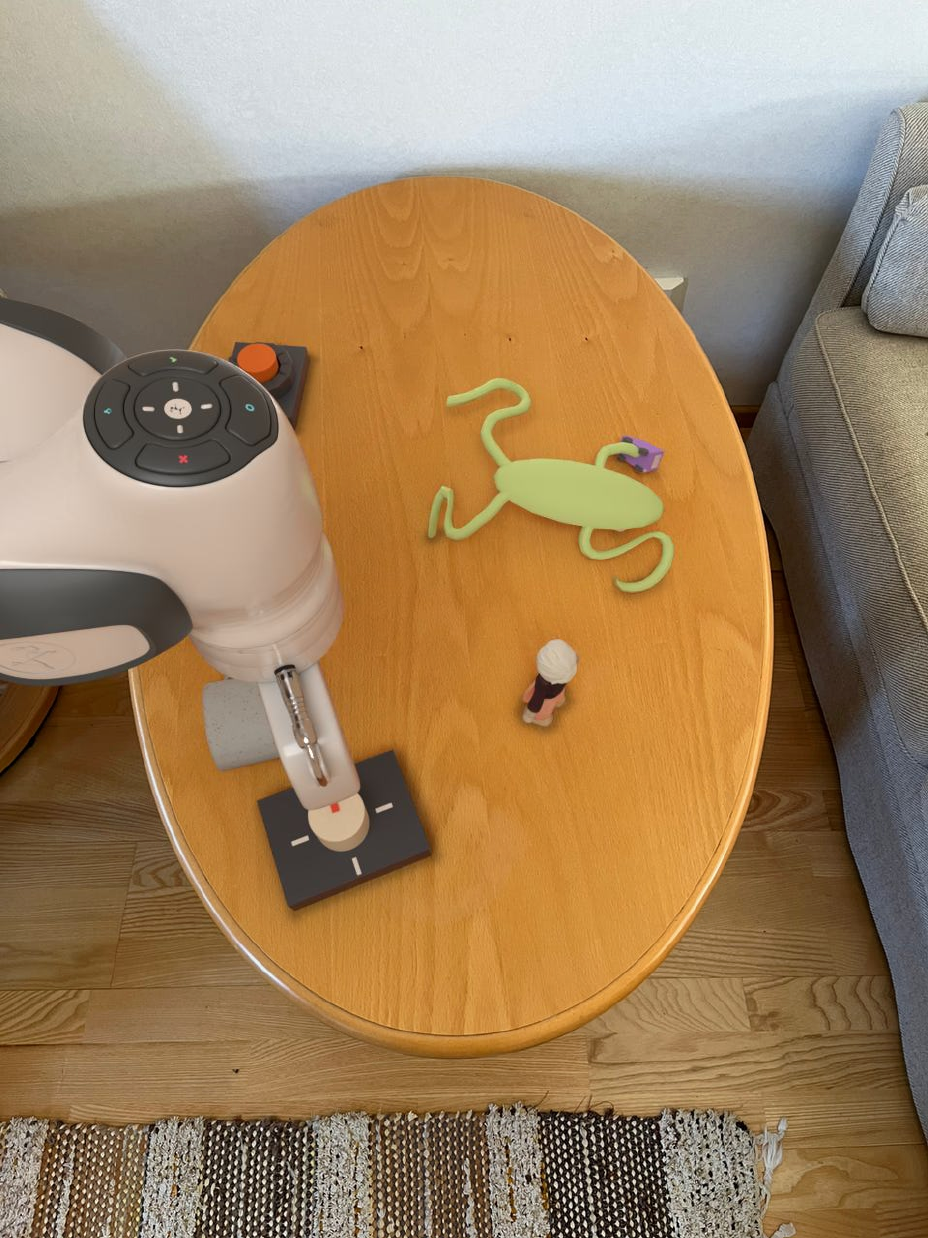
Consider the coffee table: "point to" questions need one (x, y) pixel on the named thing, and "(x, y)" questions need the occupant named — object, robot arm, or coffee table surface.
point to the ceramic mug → (236, 724)
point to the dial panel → (328, 872)
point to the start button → (258, 362)
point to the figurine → (567, 489)
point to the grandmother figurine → (549, 682)
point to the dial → (341, 824)
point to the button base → (284, 376)
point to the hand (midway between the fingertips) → (301, 689)
